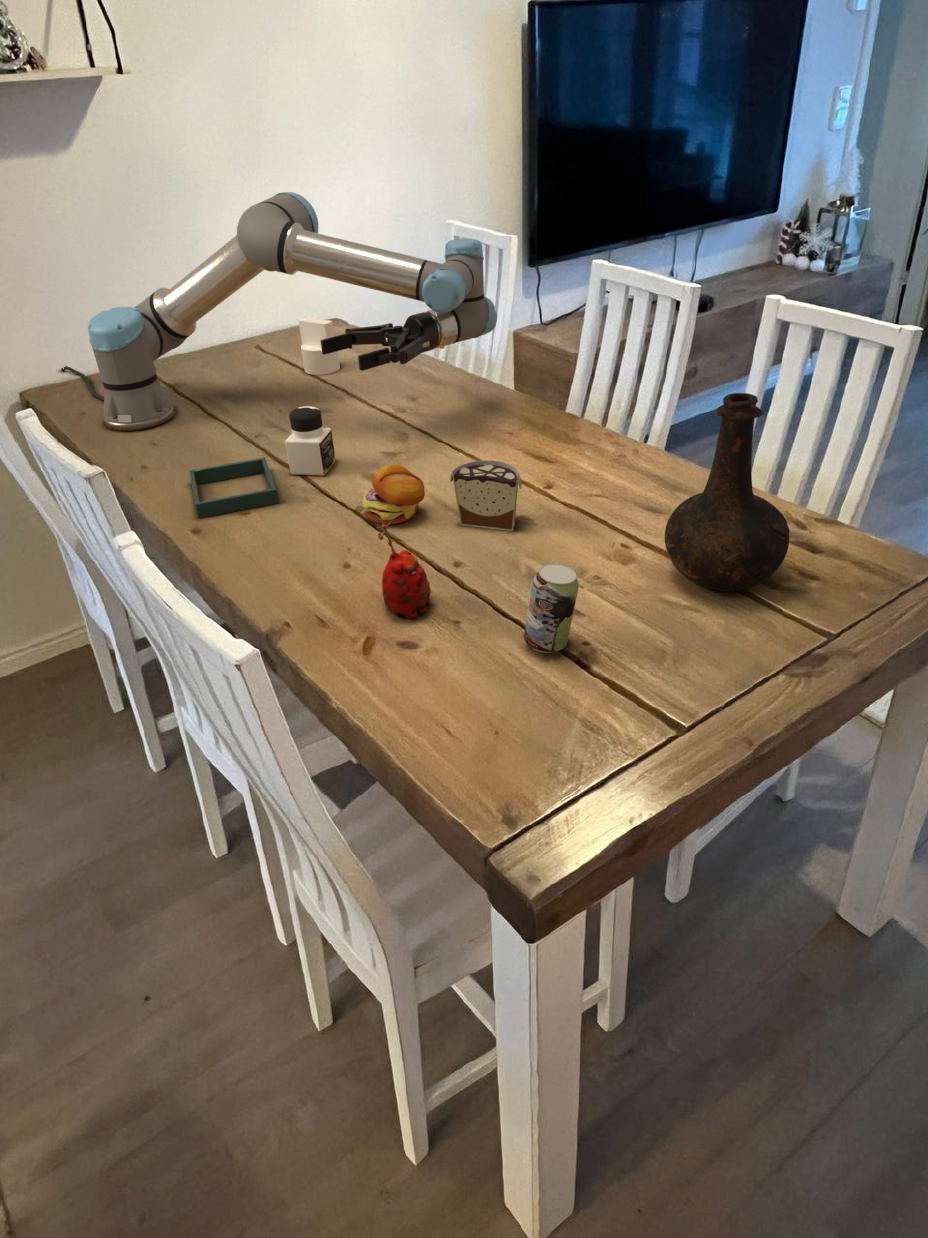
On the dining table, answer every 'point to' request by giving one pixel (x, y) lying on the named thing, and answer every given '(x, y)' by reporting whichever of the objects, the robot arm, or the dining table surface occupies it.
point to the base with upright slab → (317, 346)
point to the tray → (234, 501)
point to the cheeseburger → (393, 495)
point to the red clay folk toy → (404, 582)
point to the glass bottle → (729, 514)
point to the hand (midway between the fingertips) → (340, 355)
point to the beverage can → (551, 608)
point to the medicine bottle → (309, 443)
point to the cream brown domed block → (486, 494)
